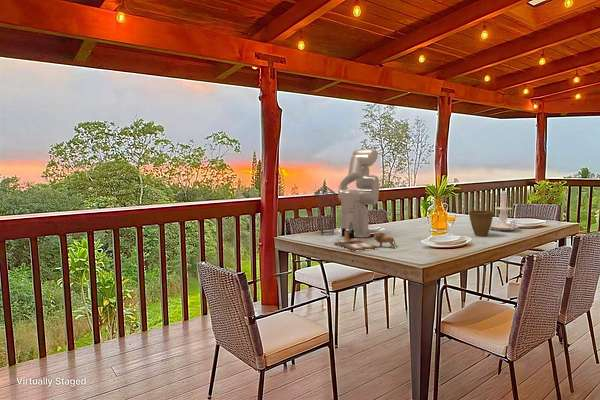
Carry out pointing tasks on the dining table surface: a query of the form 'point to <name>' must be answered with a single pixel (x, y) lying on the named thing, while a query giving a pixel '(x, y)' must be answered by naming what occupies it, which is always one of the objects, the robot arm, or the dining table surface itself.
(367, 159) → the robot arm
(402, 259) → the dining table surface
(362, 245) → the ticket board
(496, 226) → the candlestick
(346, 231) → the stub
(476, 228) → the plant pot
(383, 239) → the lion figurine
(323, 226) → the geometric lantern
